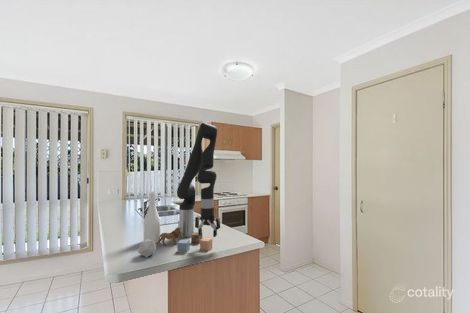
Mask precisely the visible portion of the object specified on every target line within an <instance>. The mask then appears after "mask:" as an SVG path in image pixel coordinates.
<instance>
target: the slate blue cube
mask: <svg viewBox="0 0 470 313" xmlns="http://www.w3.org/2000/svg"><path fill="white" fill-rule="evenodd" d="M189 250H190V239H179V241H178V242H177V253H185V252H186V253H188V252H189Z"/></svg>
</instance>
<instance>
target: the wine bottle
mask: <svg viewBox="0 0 470 313" xmlns="http://www.w3.org/2000/svg"><path fill="white" fill-rule="evenodd" d="M156 194H157V193H156V191H154V190H153V191H152V190H151V191H149V194H148V195H149V204H148V208H147V211H146V214H145V217H144V220H143V221H144V222H143V241H144V240H146V239H150V240H152V241H153V242H154V243H155V244H157V243H158V240H159V237H160V235H161V218H160V216H159V212H158V210H157V206H156ZM160 238H161V237H160Z"/></svg>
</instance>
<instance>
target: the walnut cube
mask: <svg viewBox="0 0 470 313" xmlns="http://www.w3.org/2000/svg"><path fill="white" fill-rule="evenodd" d="M190 237H191V238H190V239H191V244H197V245H200V240H201V239H203V234H202V235H201V236H199V234H198V232H194V233H193V234H192V235H191V236H190Z"/></svg>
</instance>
